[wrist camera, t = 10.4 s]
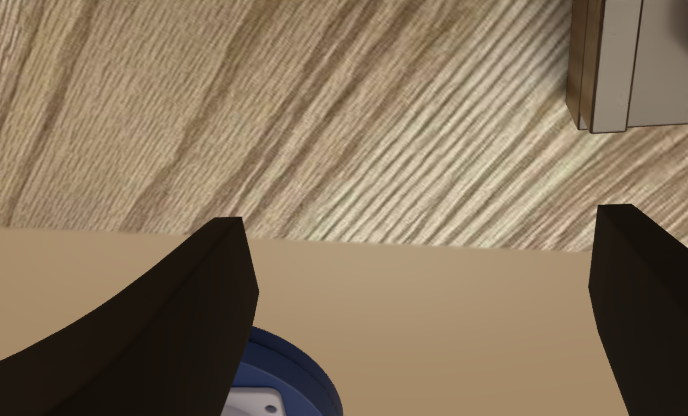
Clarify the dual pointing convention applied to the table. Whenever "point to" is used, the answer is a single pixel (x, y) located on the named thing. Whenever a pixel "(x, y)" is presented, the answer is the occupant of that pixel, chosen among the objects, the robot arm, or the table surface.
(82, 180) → the table surface
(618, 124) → the brown open-sided tray
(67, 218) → the table surface
